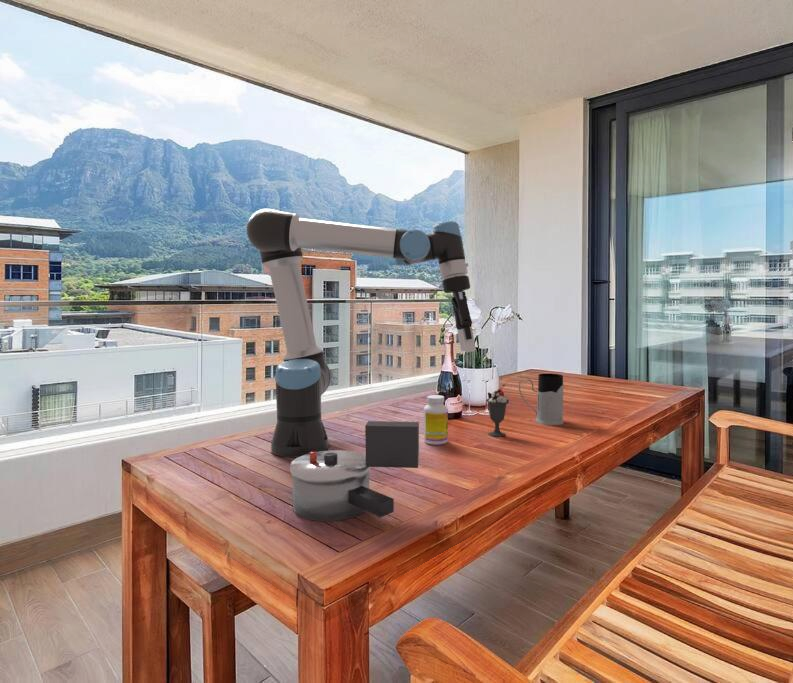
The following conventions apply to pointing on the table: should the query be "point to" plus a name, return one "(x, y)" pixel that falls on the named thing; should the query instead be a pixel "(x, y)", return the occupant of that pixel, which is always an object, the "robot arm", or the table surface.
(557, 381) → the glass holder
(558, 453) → the table surface
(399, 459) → the lid
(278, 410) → the robot arm
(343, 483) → the pot
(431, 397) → the supplement bottle
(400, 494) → the table surface
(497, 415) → the sundae
